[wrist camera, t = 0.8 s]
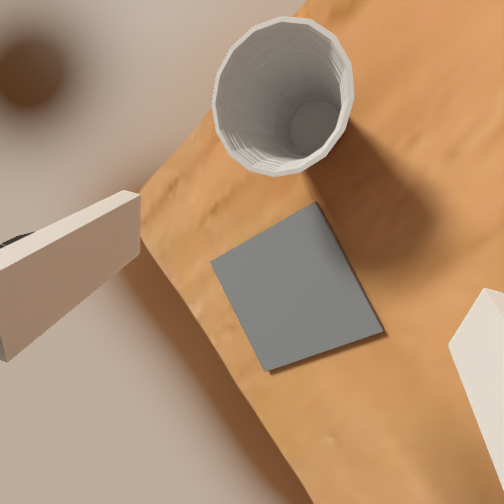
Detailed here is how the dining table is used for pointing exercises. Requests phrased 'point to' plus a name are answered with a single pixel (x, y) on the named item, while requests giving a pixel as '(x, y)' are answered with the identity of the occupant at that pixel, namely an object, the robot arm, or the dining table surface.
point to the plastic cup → (283, 96)
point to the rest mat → (295, 290)
